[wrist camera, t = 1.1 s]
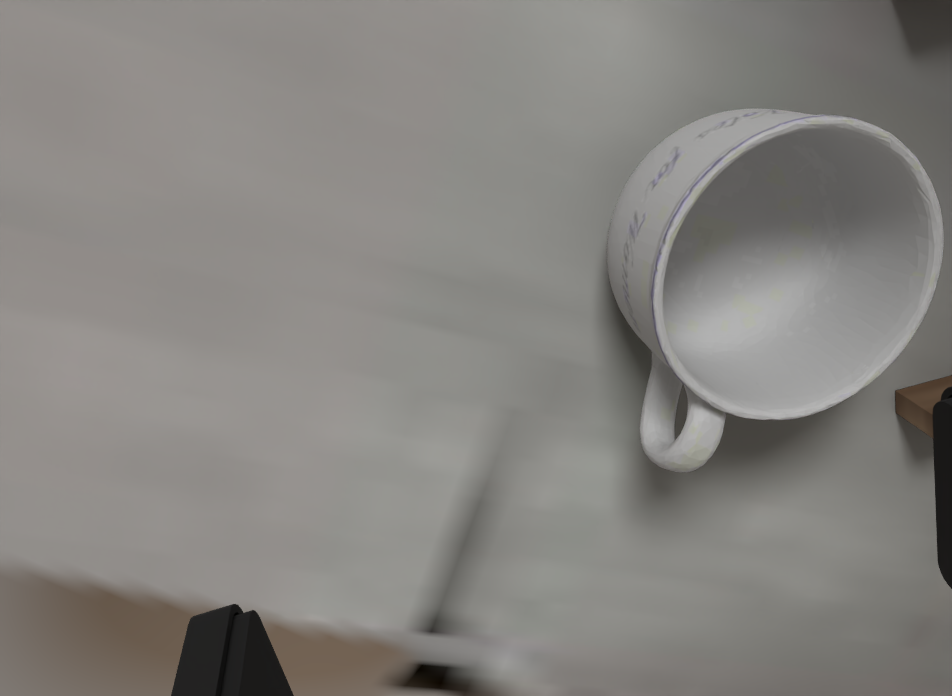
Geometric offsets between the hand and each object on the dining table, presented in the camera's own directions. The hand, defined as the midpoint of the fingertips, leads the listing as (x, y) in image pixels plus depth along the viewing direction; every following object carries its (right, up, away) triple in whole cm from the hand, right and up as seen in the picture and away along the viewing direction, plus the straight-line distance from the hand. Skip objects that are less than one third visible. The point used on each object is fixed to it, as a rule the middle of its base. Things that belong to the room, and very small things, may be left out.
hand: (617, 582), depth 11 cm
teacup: (+7, +7, +25) cm, 27 cm away
